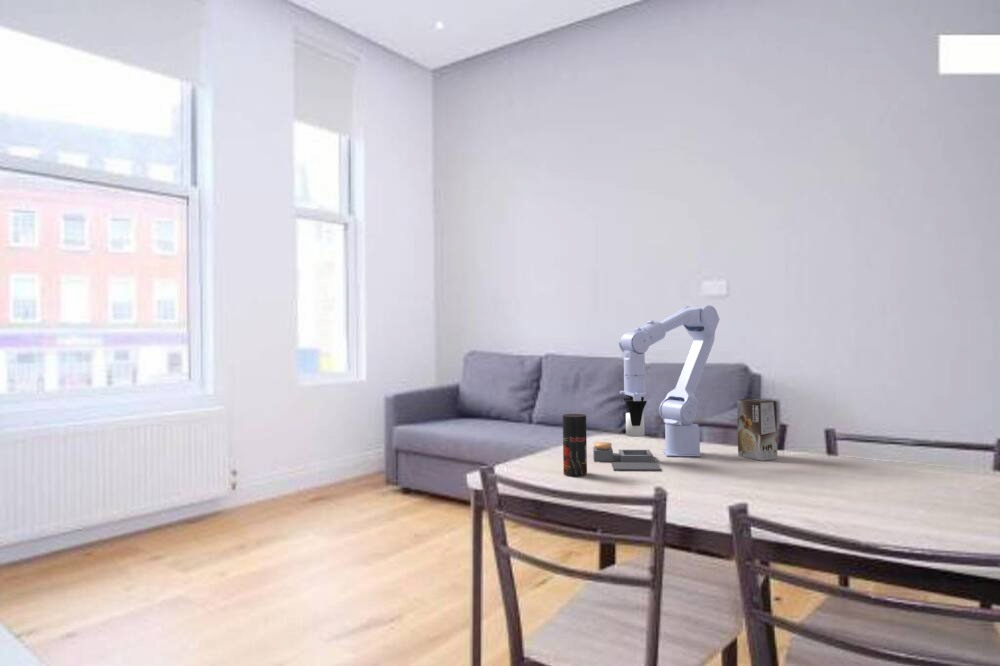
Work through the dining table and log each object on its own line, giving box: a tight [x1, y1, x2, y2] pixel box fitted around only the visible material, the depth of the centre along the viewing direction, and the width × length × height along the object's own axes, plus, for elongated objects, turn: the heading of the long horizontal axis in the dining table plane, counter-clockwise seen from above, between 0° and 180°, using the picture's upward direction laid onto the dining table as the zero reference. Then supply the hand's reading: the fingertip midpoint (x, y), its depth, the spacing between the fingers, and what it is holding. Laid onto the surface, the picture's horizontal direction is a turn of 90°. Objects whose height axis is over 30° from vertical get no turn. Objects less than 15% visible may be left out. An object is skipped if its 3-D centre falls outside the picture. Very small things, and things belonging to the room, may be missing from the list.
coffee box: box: [736, 397, 779, 462], centre depth 185 cm, size 9×6×16 cm
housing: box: [592, 446, 654, 463], centre depth 185 cm, size 16×9×3 cm, turn 84°
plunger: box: [593, 441, 613, 450], centre depth 185 cm, size 5×5×4 cm
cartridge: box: [625, 412, 645, 438], centre depth 184 cm, size 5×5×7 cm
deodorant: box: [562, 413, 588, 478], centre depth 168 cm, size 6×6×15 cm
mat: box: [611, 461, 662, 472], centre depth 174 cm, size 12×8×1 cm, turn 84°
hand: (635, 424), depth 184 cm, fingers closed on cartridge, 5 cm apart
